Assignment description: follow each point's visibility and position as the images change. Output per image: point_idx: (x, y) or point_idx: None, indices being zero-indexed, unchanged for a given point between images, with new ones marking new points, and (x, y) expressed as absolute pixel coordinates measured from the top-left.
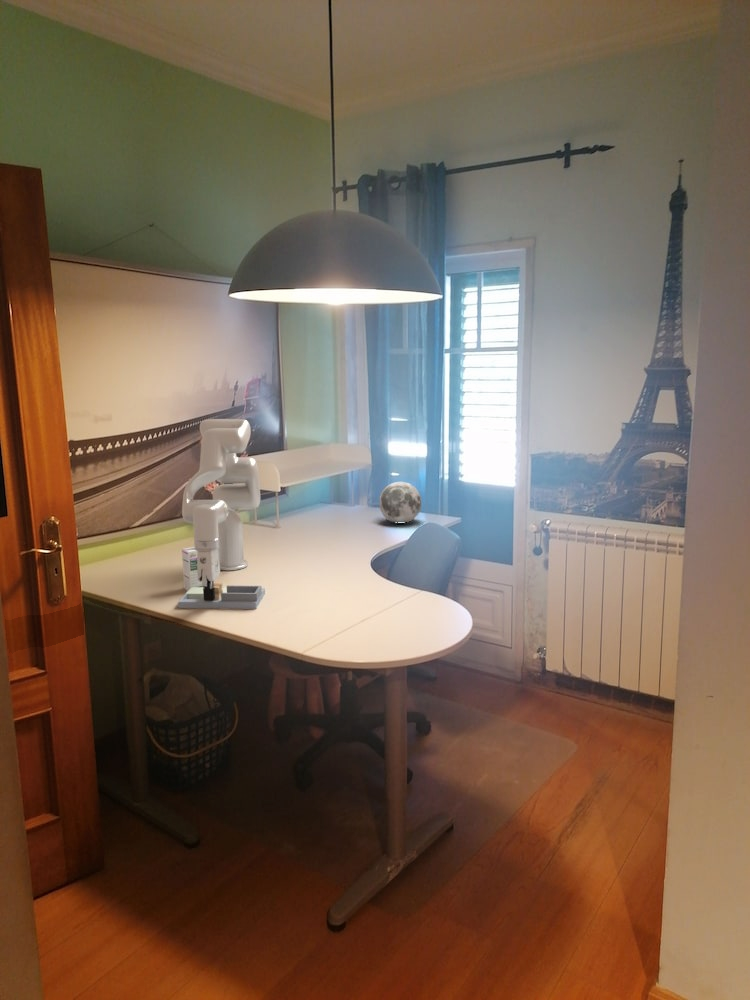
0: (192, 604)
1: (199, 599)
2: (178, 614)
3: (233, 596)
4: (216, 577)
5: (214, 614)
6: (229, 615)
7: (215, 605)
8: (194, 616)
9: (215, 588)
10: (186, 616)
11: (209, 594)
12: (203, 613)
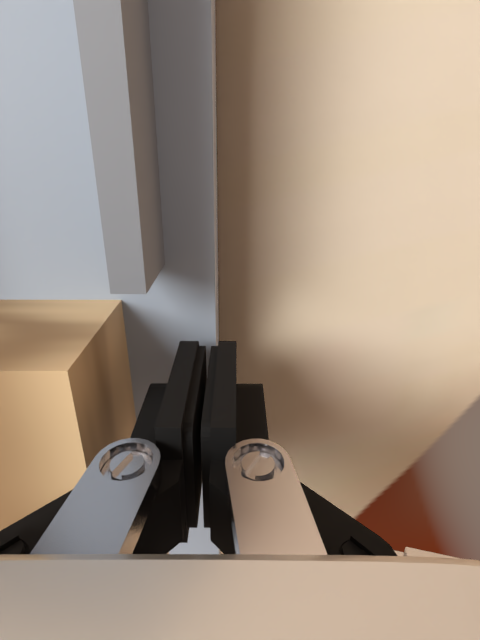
0: None
1: None
2: (349, 506)
3: (138, 97)
4: (237, 586)
5: (379, 265)
6: (431, 101)
7: (217, 303)
8: (406, 406)
9: (79, 403)
10: (397, 455)
11: (263, 419)
12: (344, 360)
